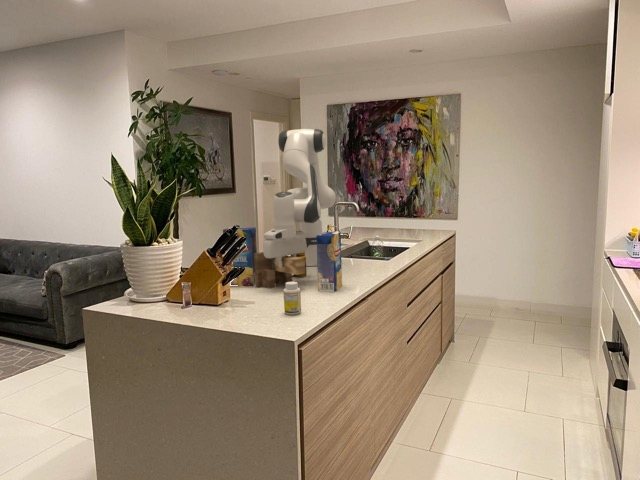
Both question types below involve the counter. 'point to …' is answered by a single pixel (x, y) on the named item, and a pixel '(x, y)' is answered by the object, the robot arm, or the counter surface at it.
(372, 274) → the counter surface
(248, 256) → the juice carton
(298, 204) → the robot arm
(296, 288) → the supplement bottle
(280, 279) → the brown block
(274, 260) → the rail
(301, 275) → the condiment
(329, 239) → the beverage box
